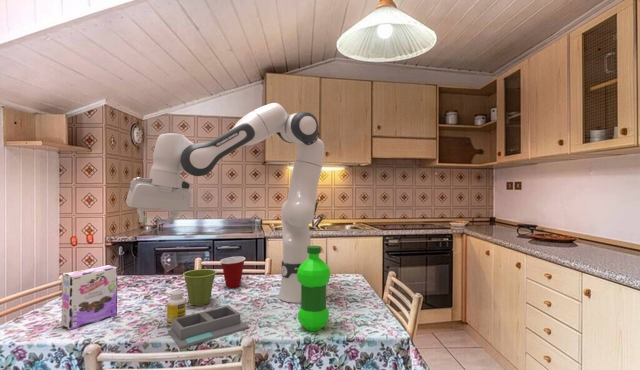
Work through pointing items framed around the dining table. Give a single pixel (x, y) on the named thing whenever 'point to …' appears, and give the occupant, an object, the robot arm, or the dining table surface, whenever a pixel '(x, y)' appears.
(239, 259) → the plastic cup
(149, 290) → the dining table surface
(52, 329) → the dining table surface
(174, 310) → the supplement bottle
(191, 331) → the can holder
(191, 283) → the plant pot
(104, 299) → the candy box
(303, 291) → the plastic bottle
